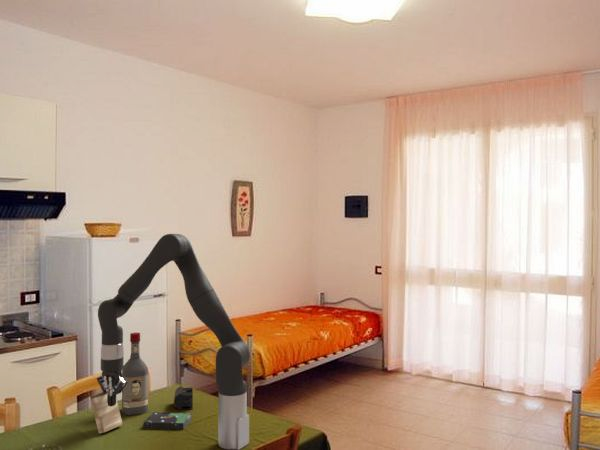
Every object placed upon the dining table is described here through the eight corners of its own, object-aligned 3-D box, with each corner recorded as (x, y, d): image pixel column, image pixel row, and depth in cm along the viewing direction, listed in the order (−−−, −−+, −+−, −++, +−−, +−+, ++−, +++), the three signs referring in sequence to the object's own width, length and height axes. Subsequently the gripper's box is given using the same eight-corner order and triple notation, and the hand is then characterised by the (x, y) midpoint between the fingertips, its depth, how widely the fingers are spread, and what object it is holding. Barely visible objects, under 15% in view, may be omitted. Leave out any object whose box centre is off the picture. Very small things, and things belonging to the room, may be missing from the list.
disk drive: (143, 430, 185) (184, 430, 184) (142, 422, 185) (184, 422, 184) (153, 419, 195) (192, 419, 194) (152, 411, 195) (192, 412, 194)
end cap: (174, 402, 211) (174, 386, 211) (192, 401, 213) (192, 385, 213) (173, 411, 202) (173, 394, 202) (192, 410, 203) (192, 392, 203)
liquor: (121, 408, 204) (121, 332, 204) (145, 405, 208) (146, 330, 208) (123, 416, 196) (123, 336, 196) (148, 413, 199) (148, 334, 199)
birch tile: (122, 424, 186) (113, 388, 188) (104, 432, 179) (95, 394, 181) (116, 425, 187) (108, 389, 189) (98, 433, 180) (90, 396, 182)
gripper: (134, 356, 183) (133, 405, 183) (107, 351, 189) (106, 399, 189) (117, 361, 176) (116, 412, 176) (90, 355, 182) (89, 405, 182)
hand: (111, 405), depth 182 cm, fingers closed
